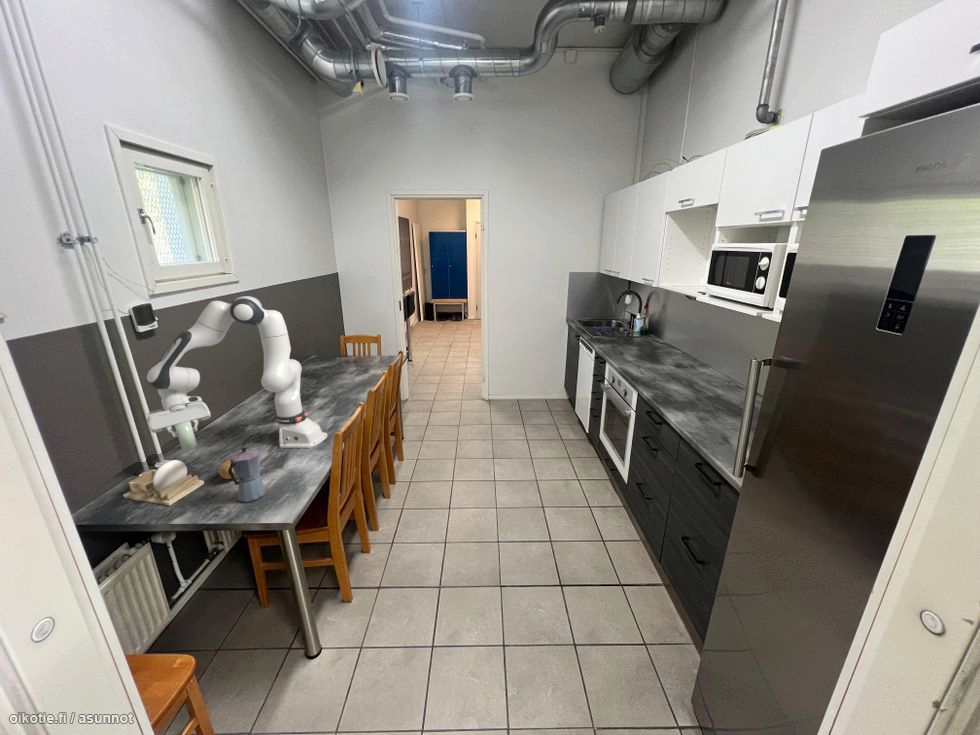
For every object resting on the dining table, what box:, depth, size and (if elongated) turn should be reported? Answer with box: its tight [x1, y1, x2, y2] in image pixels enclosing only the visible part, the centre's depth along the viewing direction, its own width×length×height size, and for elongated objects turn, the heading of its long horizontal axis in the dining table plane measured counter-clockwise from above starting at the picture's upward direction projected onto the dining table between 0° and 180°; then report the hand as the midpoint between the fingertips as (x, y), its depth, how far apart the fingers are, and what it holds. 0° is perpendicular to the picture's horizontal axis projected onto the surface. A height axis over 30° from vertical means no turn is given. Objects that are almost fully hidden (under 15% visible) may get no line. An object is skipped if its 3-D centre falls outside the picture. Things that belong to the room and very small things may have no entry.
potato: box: [218, 458, 238, 480], centre depth 158 cm, size 10×14×8 cm
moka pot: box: [228, 447, 266, 503], centre depth 142 cm, size 10×15×20 cm, turn 2°
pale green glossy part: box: [174, 421, 198, 451], centre depth 159 cm, size 5×5×11 cm
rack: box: [123, 459, 205, 506], centre depth 147 cm, size 22×14×13 cm, turn 77°
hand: (185, 433), depth 158 cm, fingers closed on pale green glossy part, 5 cm apart
